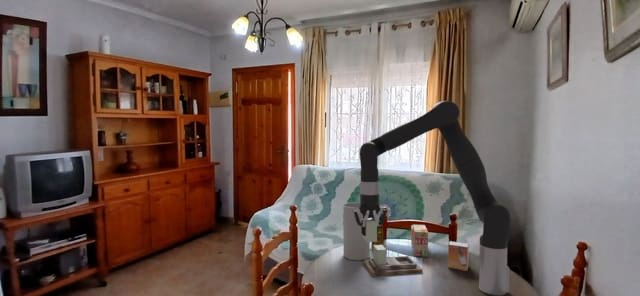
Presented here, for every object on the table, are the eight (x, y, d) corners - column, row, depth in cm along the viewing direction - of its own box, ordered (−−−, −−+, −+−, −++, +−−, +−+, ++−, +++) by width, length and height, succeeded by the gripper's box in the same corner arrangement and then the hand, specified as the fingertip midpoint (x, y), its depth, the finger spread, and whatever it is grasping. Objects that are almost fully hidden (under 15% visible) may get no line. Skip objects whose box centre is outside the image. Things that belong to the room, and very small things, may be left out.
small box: (447, 268, 147) (447, 244, 147) (449, 263, 152) (449, 240, 152) (467, 271, 144) (467, 247, 143) (468, 266, 149) (468, 243, 148)
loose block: (372, 236, 137) (372, 217, 136) (376, 241, 131) (376, 221, 130) (362, 237, 136) (362, 217, 136) (367, 242, 130) (366, 221, 130)
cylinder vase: (341, 260, 157) (341, 207, 156) (345, 250, 170) (345, 201, 168) (368, 262, 154) (368, 208, 153) (370, 252, 167) (370, 202, 165)
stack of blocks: (410, 242, 183) (410, 219, 182) (422, 242, 181) (422, 220, 181) (414, 256, 162) (414, 231, 161) (428, 257, 160) (428, 231, 160)
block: (382, 262, 150) (382, 244, 150) (386, 267, 144) (386, 249, 144) (373, 262, 150) (373, 245, 149) (377, 268, 144) (377, 249, 143)
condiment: (369, 249, 171) (369, 226, 171) (372, 244, 179) (372, 222, 179) (383, 251, 169) (383, 227, 168) (386, 245, 177) (386, 223, 176)
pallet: (409, 260, 156) (409, 254, 156) (422, 272, 142) (422, 265, 142) (363, 263, 153) (363, 256, 153) (372, 276, 139) (372, 269, 139)
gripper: (354, 194, 128) (354, 239, 129) (390, 193, 130) (390, 237, 131) (349, 191, 135) (350, 233, 136) (383, 190, 137) (383, 231, 138)
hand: (369, 234), depth 133 cm, fingers closed on loose block, 4 cm apart
